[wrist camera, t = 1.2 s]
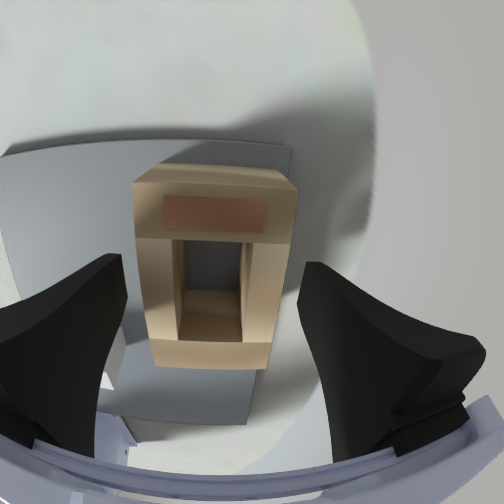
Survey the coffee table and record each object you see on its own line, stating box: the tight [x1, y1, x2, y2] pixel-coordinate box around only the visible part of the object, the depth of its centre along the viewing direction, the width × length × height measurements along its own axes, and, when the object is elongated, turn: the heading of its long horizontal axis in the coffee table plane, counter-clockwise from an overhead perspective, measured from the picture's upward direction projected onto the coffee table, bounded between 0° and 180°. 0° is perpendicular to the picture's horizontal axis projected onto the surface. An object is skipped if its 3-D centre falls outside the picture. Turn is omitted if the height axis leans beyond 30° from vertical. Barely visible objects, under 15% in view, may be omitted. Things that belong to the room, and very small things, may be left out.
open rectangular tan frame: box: [132, 163, 299, 370], centre depth 11 cm, size 8×5×4 cm, turn 174°
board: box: [0, 138, 291, 425], centre depth 14 cm, size 22×16×4 cm
